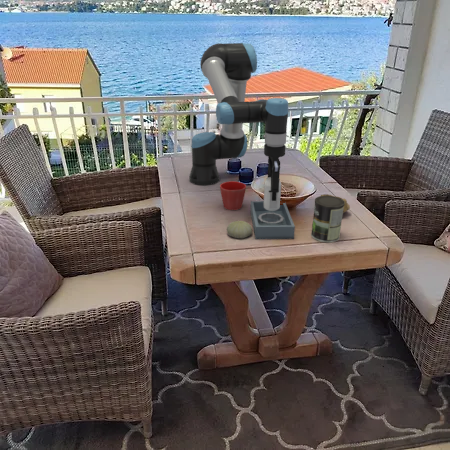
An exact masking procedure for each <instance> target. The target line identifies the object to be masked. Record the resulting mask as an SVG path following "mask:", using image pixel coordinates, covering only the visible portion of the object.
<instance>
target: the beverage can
mask: <svg viewBox="0 0 450 450" xmlns="http://www.w3.org/2000/svg"><path fill="white" fill-rule="evenodd" d="M263 188H264V190H263V201H264V208H265V209H266V210H268V211H276V210H278V209H279V208H280V201H281V194H282V182H281V179H280V178H279V192H278V195H277V208H269V202H270V192H269V191H271V177H268V176H267V177H266V180H265V182H264V187H263Z"/></svg>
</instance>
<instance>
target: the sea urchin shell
mask: <svg viewBox="0 0 450 450" xmlns="http://www.w3.org/2000/svg"><path fill="white" fill-rule="evenodd" d="M226 232H227V235H229V237H232V238H235V239H245V238H247V237H250V236H251V235H252V233H253V226H252V225H251V224H250V223H249V222H247V221H244V220H236V221H232V222H230V223H229V224H228V225H227V227H226Z"/></svg>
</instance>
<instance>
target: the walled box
mask: <svg viewBox="0 0 450 450" xmlns="http://www.w3.org/2000/svg"><path fill="white" fill-rule="evenodd" d="M249 209H250V210H249V211H250V212H249V213H250V218H251V223H252V231H253V233H254V239H255V240H294V239H295V231H296V230H295V228H296V226H295V224H294V220H293V218H292V216H291V213H290V211H289V209H288V206H287V203H286V202H285V203H283V205H280V208H279V209H278V210H276V211H268V210H266V209H265V208H264V200H261V201H260V200H259V201H258V200H257V201H255V200H253V201H252V200H250V207H249ZM263 213H276V214H280V215H281V216H282V217H284V222H283V225H280V226H261V225H260V224H259V223H258V217H259V215H260V214H263ZM263 220H264V221H267V222H277V221H279V220H277V219H273V218H266V219H263Z"/></svg>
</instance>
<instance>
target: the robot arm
mask: <svg viewBox="0 0 450 450" xmlns="http://www.w3.org/2000/svg"><path fill="white" fill-rule="evenodd" d="M257 57H258V56H257V52H256V49H255V47H254V46H253V45H252V44H251V43H245V42H244V43H243V42H236V43H234V42H232V43H227V42H226V43H215V44H212V45H210V46H209V47H208V48H207V49H206V50H204V52H203V53H202V55H201V58H200V70H201V72H202V74H203V76H204V77H205V78H206V79H207V80H208V84H209V86H210V87H211V91H212V93H213V95H214V97H215V99H216V101H217V105H216V107H215V117H216V120H217V123H218V124H220V125H223V127H222V128H221V129H220V131H219V132H220V133H219V134H217V135H216V133H215V132H213V131H205V132H200V133H196V134H194V135H193V136H192V138H191V145H190V146H191V159H192V160H191V161H192V163H191V165H192V166H191V170H190V174H189V175H188V176H189V182H190V183H191V184H193V185H197V186H210V185H215V184H217V183H219V182H220V173H219V170H218V168H217V161H218V160H226V159H239V158H242V157H244V156H245V154H246V153H247V149H248V137H247V135H246V133H245V131H244V130H243V129H242V127H243V124H255V123H256V124H257V123H264V124H265V125H264V134H263V136H262V137H263V138H264V143H265V144H264V145H263V148H264V149H263V150H264V151H263V154H264V155H265V157H267V164H268V165H267V178H268V177H271V191H269V192H270V202H269V208H277V195H278V192H279V179H280V175H281V174H280V171H281V160H280V158H281V157H285V155H286V148H287V147H286V144H287V133H288V132H287V130H288V117H289V116H288V115H289V101H288V100H287V99H285V98H279V97H273V98H271V97H270V98H268V99H258V100H255V101H251V100H250V101H246V100H245V99H246V91H247V82H248V81H249V80H250V79H251V78H252V74H255V73H256V71H257V68H258V58H257Z"/></svg>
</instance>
